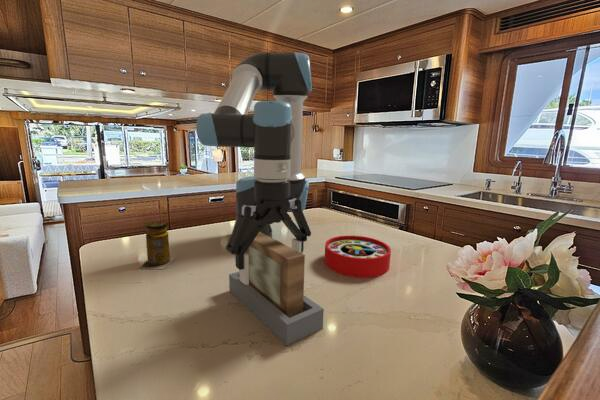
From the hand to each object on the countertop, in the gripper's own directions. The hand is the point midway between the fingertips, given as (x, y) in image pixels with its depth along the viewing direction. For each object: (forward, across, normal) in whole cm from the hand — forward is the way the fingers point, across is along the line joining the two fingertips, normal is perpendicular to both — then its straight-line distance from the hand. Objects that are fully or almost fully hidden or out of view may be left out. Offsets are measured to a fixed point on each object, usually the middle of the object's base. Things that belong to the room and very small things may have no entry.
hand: (271, 273), depth 67 cm
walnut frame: (+7, 0, 0) cm, 7 cm away
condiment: (+9, -15, +40) cm, 44 cm away
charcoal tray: (+8, 0, 0) cm, 8 cm away
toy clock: (+9, +35, +6) cm, 37 cm away
